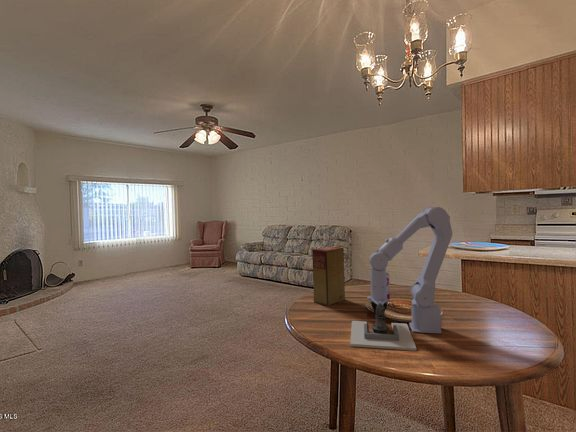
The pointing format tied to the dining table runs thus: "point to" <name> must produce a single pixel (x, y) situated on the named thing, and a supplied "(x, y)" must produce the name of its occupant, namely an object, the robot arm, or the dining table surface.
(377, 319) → the black chess piece
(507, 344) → the dining table surface
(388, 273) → the supplement can
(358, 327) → the board
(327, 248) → the food packaging
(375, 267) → the robot arm
